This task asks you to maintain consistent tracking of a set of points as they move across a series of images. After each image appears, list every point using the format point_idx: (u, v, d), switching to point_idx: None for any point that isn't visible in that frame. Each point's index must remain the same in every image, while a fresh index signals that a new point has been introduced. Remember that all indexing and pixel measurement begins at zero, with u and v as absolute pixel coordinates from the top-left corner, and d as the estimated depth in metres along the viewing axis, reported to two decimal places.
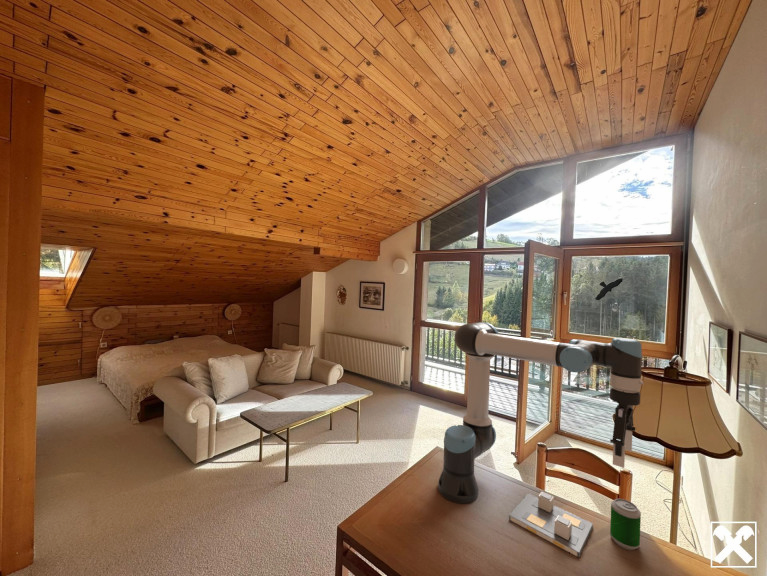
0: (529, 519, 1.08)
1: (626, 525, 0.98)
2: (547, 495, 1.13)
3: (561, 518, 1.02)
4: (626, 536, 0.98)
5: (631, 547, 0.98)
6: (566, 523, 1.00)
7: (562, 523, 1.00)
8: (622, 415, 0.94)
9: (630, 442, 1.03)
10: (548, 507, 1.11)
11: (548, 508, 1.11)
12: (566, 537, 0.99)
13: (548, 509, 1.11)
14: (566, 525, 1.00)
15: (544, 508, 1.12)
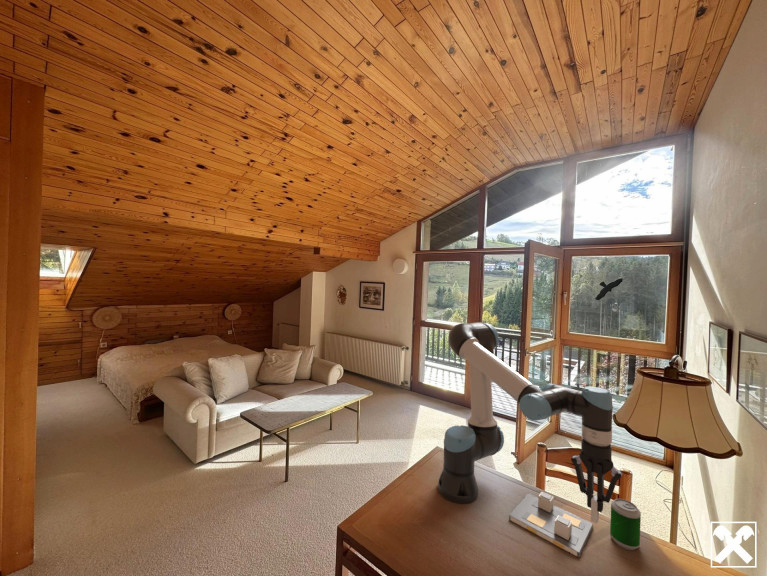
0: (529, 519, 1.08)
1: (626, 525, 0.98)
2: (547, 495, 1.13)
3: (561, 518, 1.02)
4: (626, 536, 0.98)
5: (631, 547, 0.98)
6: (566, 523, 1.00)
7: (562, 523, 1.00)
8: None
9: None
10: (548, 507, 1.11)
11: (548, 508, 1.11)
12: (566, 537, 0.99)
13: (548, 509, 1.11)
14: (566, 525, 1.00)
15: (544, 508, 1.12)
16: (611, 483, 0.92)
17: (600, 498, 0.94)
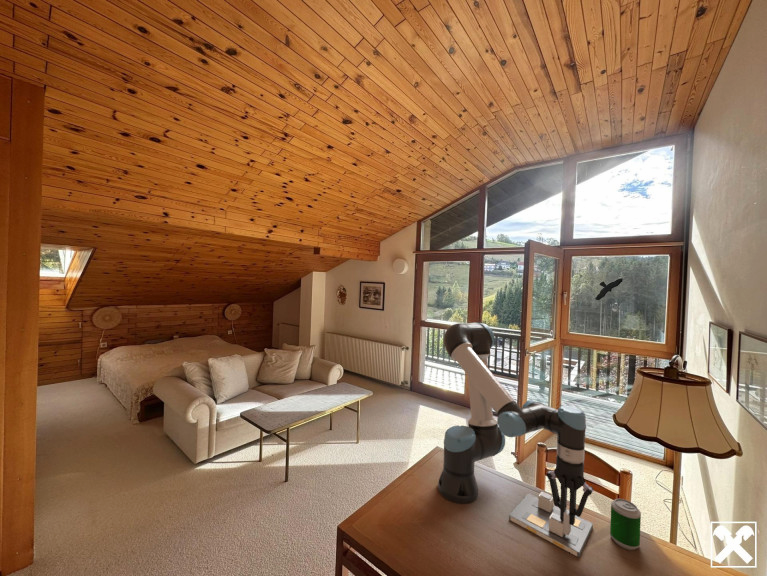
0: (529, 519, 1.08)
1: (626, 525, 0.98)
2: (547, 495, 1.13)
3: (555, 515, 1.03)
4: (626, 536, 0.98)
5: (631, 547, 0.98)
6: (560, 520, 1.01)
7: (556, 520, 1.01)
8: None
9: None
10: (548, 507, 1.11)
11: (548, 508, 1.11)
12: (560, 534, 1.00)
13: (548, 509, 1.11)
14: (560, 522, 1.01)
15: (544, 508, 1.12)
16: (582, 499, 0.97)
17: (572, 512, 0.99)
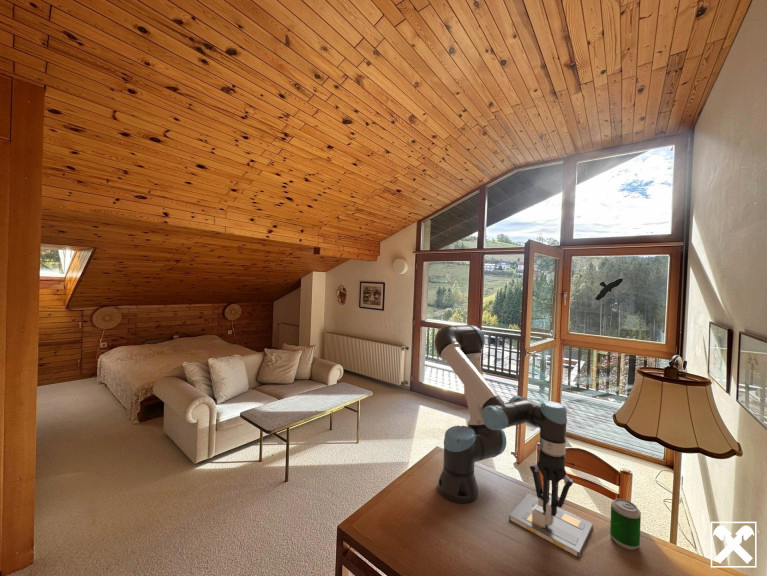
0: (529, 519, 1.08)
1: (626, 525, 0.98)
2: None
3: (539, 507, 1.07)
4: (626, 536, 0.98)
5: (631, 547, 0.98)
6: (543, 512, 1.05)
7: (539, 511, 1.05)
8: None
9: None
10: None
11: None
12: (543, 525, 1.04)
13: None
14: (543, 513, 1.04)
15: None
16: (563, 490, 1.01)
17: (554, 503, 1.02)
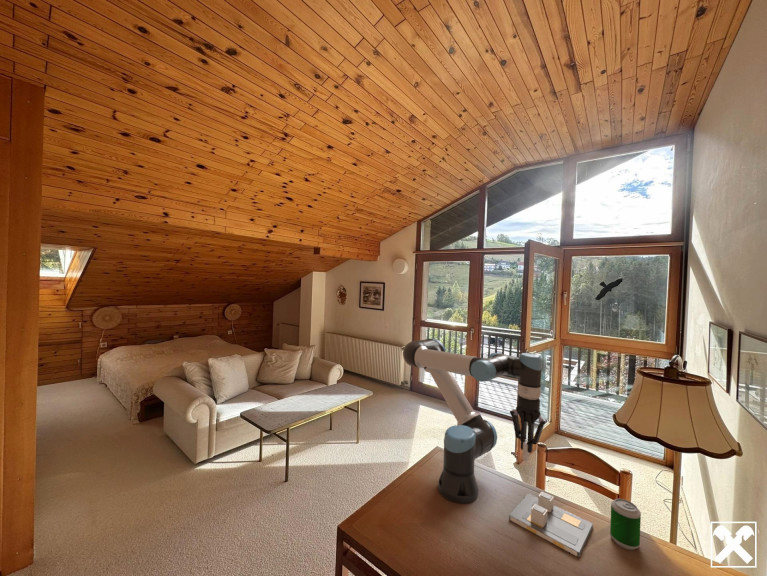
0: (529, 519, 1.08)
1: (626, 525, 0.98)
2: (547, 495, 1.13)
3: (537, 506, 1.07)
4: (626, 536, 0.98)
5: (631, 547, 0.98)
6: (542, 511, 1.05)
7: (538, 511, 1.05)
8: None
9: None
10: (548, 507, 1.11)
11: (548, 508, 1.11)
12: (541, 524, 1.04)
13: (548, 509, 1.11)
14: (541, 513, 1.05)
15: None
16: (537, 429, 1.14)
17: (529, 441, 1.16)
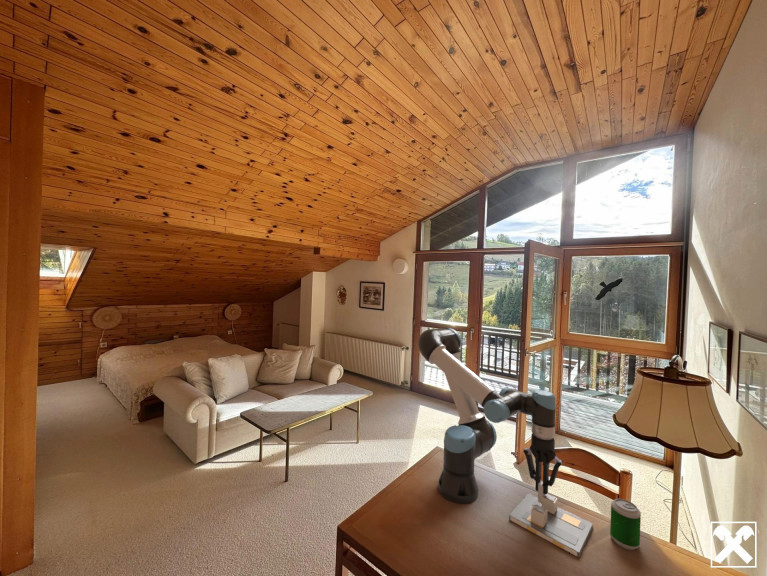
0: (529, 519, 1.08)
1: (626, 525, 0.98)
2: (551, 497, 1.13)
3: (537, 506, 1.07)
4: (626, 536, 0.98)
5: (631, 547, 0.98)
6: (542, 511, 1.05)
7: (538, 511, 1.05)
8: None
9: (540, 494, 1.14)
10: (552, 509, 1.10)
11: (552, 510, 1.10)
12: (541, 524, 1.04)
13: (552, 511, 1.10)
14: (541, 513, 1.05)
15: (548, 510, 1.11)
16: (553, 470, 1.11)
17: (545, 483, 1.13)
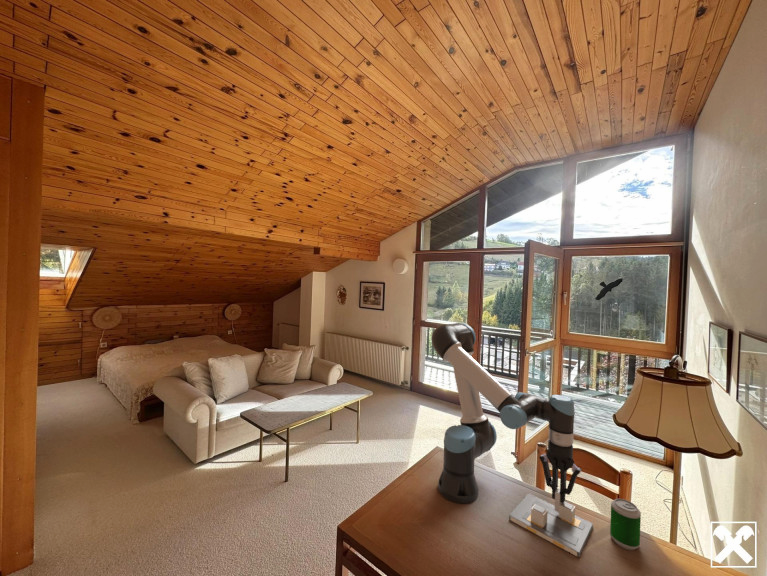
0: (529, 519, 1.08)
1: (626, 525, 0.98)
2: (568, 505, 1.09)
3: (537, 506, 1.07)
4: (626, 536, 0.98)
5: (631, 547, 0.98)
6: (542, 511, 1.05)
7: (538, 511, 1.05)
8: None
9: None
10: (570, 517, 1.07)
11: (570, 518, 1.07)
12: (541, 524, 1.04)
13: (570, 519, 1.07)
14: (541, 513, 1.05)
15: (565, 518, 1.07)
16: (571, 478, 1.07)
17: (562, 491, 1.09)
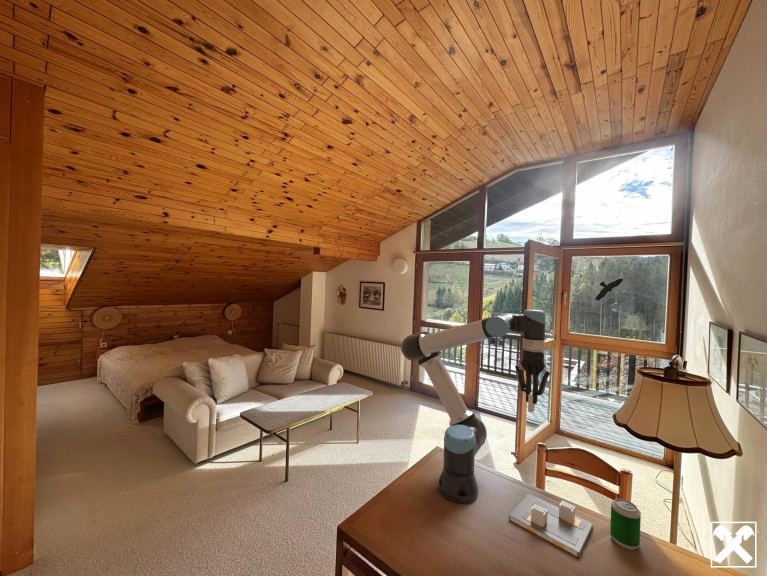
0: (529, 519, 1.08)
1: (626, 525, 0.98)
2: (568, 505, 1.09)
3: (537, 506, 1.07)
4: (626, 536, 0.98)
5: (631, 547, 0.98)
6: (542, 511, 1.05)
7: (538, 511, 1.05)
8: None
9: None
10: (570, 517, 1.07)
11: (570, 518, 1.07)
12: (541, 524, 1.04)
13: (570, 519, 1.07)
14: (541, 513, 1.05)
15: (565, 518, 1.07)
16: (542, 380, 1.19)
17: (534, 393, 1.21)
